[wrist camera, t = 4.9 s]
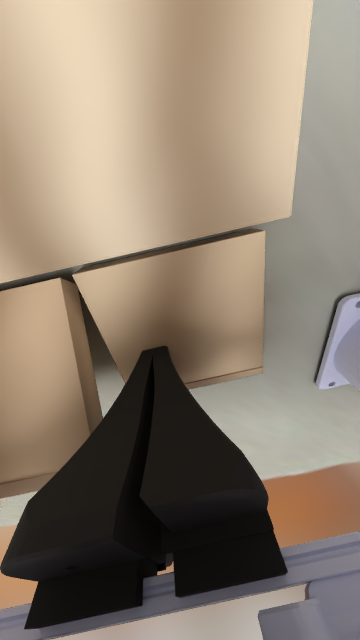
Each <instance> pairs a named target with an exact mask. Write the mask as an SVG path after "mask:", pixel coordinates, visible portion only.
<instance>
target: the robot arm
mask: <svg viewBox="0 0 360 640" xmlns="http://www.w3.org/2000/svg"><path fill="white" fill-rule="evenodd" d="M347 384H352V385H353V386H354V387H355V388H356V389H357V390H358V391H359V392H360V293H358V294H354V295H349V296H346V297H344V298H343V299H341V301H340V302H339V304H338V306H337V310H336V313H335V317H334V320H333V324H332V328H331V331H330V335H329V338H328V342H327V345H326V349H325V352H324V356H323V359H322V363H321V366H320V370H319V373H318V377H317V380H316V386H317V387H318V388H319V389H328V388H333V387H337V386H342V385H347ZM267 505H268V494H267V491H266V489H265V487H264V485H263V483H262V481H261V479H260V478H259V476H258V475H257V473H256V471H255V470H254V468H253V467H252V465H251V464H250V463H249V461H248V460H247V458H246V457H245V455H244V454H243V452H242V451H241V450H240V449H239V448H238V447H237V446H236V445H235V444H234V443H233V442H232V441H231V440H230V439H229V438H228V437H227V436H226V435H225V434H224V433H223V432H222V431H221V430H220V429H219V427H218V426H217V425H216V424H215V423H214V422H213V421H212V420H211V418H210V417H209V416H208V415H207V414H206V413H205V411H204V410H203V409H202V408H201V407H200V405H199V404H198V403H197V401H196V400H195V399H194V397H193V396H192V395H191V393H190V392H189V390H188V389H187V387H186V386H185V384H184V383H183V381H182V379H181V378H180V376H179V374H178V373H177V371H176V369H175V367H174V365H173V363H172V360H171V357H170V353H169V350H168V347H167V346H161V347H157V348H152V349H148V350H143V351H142V352H141V354H140V356H139V359H138V361H137V363H136V365H135V367H134V369H133V371H132V373H131V375H130V377H129V379H128V380H127V382H126V384H125V386H124V387H123V389H122V391H121V393H120V394H119V396H118V398H117V399H116V401H115V402H114V404H113V405H112V407H111V408H110V410H109V411H108V413H107V414H106V415H105V417H104V418H103V419H102V421H101V422H100V423H99V425H98V426H97V427H96V429H95V430H94V431H93V432H92V434H91V435H90V436H89V437H88V439H87V440H86V441H85V442H84V443H83V445H82V446H81V447H80V448H79V449H78V450H77V451H76V453H75V454H74V455H73V456H72V457H71V458H70V459H69V460H68V461H67V463H66V464H65V465H64V466H63V467H62V468H61V469H60V470H59V471H58V472H57V473H56V474H55V475H54V476H53V477H52V478H51V479H50V480H49V481H48V482H47V483H46V484H45V485H44V486H43V487H42V488H41V489H40V490H39V491H38V492H37V493H36V494H35V495H34V496H33V497H32V498H31V499H30V500H29V501H28V503H27V505H26V507H25V509H24V512H23V514H22V516H21V518H20V521H19V523H18V525H17V528H16V530H15V532H14V535H13V537H12V540H11V542H10V544H9V547H8V549H7V551H6V554H5V556H4V558H3V561H2V563H1V566H0V570H1V573H3V574H4V575H6V576H10V577H15V578H20V579H26V580H32V581H38V585H37V588H36V591H35V594H34V598H33V601H32V603H29V604H24V605H20V606H15V607H11V608H6V609H1V610H0V640H50V639H55V638H59V637H64V636H69V635H73V634H78V633H82V632H87V631H91V630H96V629H101V628H105V627H110V626H115V625H119V624H124V623H128V622H133V621H138V620H142V619H146V618H151V617H156V616H161V615H165V614H170V613H174V612H179V611H184V610H188V609H193V608H197V607H202V606H207V605H211V604H215V603H220V602H225V601H230V600H234V599H239V598H243V597H248V596H253V595H257V594H262V593H266V592H271V591H276V590H280V589H285V588H289V587H294V586H298V585H303V584H307V585H306V588H305V600H304V601H300V602H296V603H291V604H287V605H282V606H278V607H273V608H269V609H265V610H260V611H259V613H258V619H259V623H260V627H261V631H262V635H263V640H360V531H358V532H353V533H348V534H344V535H340V536H335V537H331V538H326V539H321V540H316V541H312V542H307V543H303V544H298V545H294V546H289V547H285V548H279V545H278V543H277V540H276V538H275V534H274V531H273V530H274V528H273V525H272V522H271V519H270V516H269V514H268V511H267ZM172 562H174V572H170V573H166V574H162V575H157V572H158V571H163V570H166V567H168V566H170V565H171V564H172ZM308 583H309V584H308Z"/></svg>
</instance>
